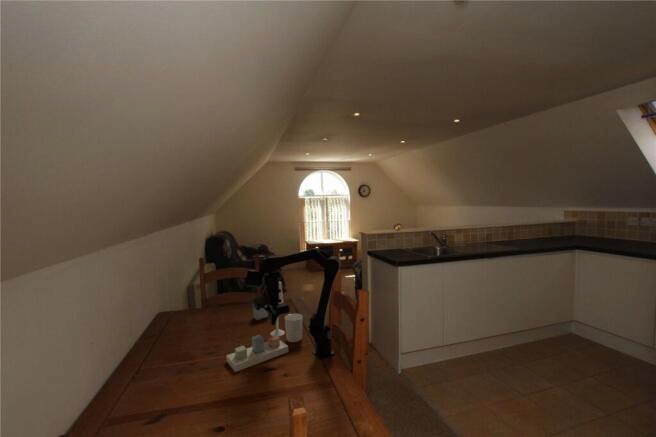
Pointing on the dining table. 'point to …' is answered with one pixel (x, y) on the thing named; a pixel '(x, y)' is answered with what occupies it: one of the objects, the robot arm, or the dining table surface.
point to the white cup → (293, 327)
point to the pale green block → (240, 353)
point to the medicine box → (260, 313)
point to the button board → (256, 356)
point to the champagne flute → (277, 331)
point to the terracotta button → (273, 341)
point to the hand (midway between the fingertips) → (272, 324)
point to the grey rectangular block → (257, 343)
